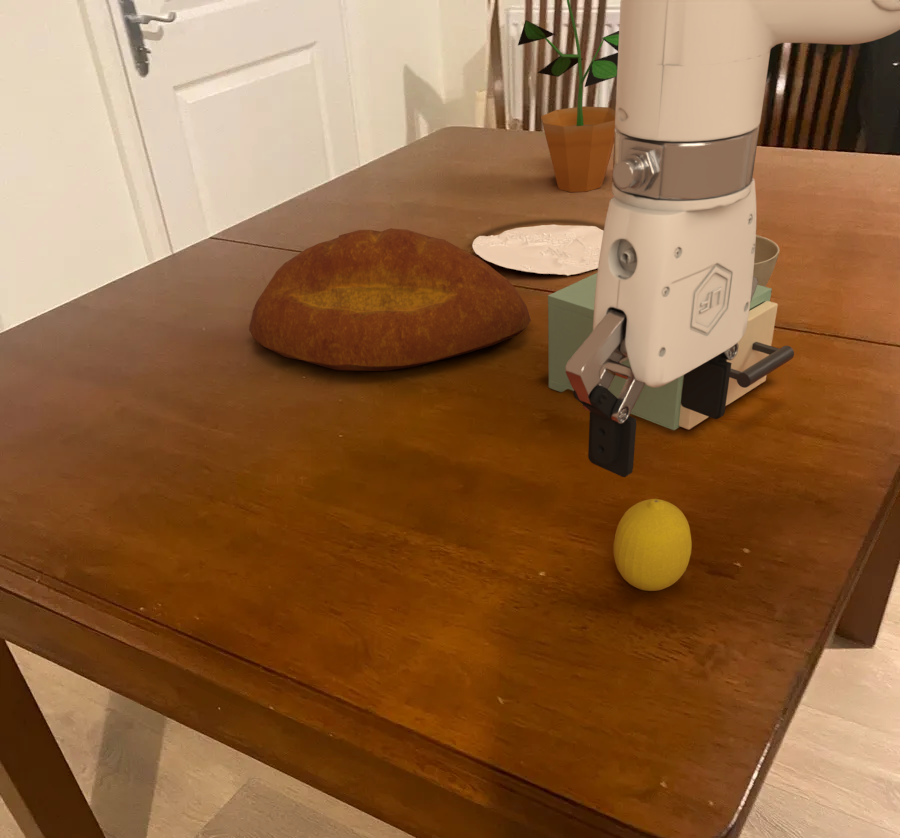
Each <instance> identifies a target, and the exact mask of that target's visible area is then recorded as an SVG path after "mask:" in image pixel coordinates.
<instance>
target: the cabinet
mask: <svg viewBox="0 0 900 838" xmlns="http://www.w3.org/2000/svg"><path fill="white" fill-rule="evenodd" d="M596 281H597V272H596V273H594V274H591V275H589V276H587V277H585V278H583V279H581V280H578V281H575V282H574V283H572V284H569V285H568V286H566V287H564V288H561V289H559V290H557V291H555V292H552V293H550V294H548V295H547V326H548V327H547V328H548V329H547V330H548V333H547V335H548V337H547V338H548V340H547V341H548V346H547V347H548V353H547V354H548V388H549V389H551V390H554V391H556V392H558V393H563V392H565V391H566V390H570V391H572V392H574V390H573V388H572V386H571V383H570V381H569V379H568V377H567V374H566V372H565V367H566V364H567V362H568V361H569V359H570V358H571V357H572V356H573V354H574V353H575V352H576V351H577V350H578V348H579V347H580V346H581V345H582V344H583V342H584V341H585V340H586V339H587V338H588V336H589V335H590V334H591V333H592V331H593V317H594V301H595V291H596ZM772 290H773V288H772V287H768V286H766V287H764V286H760V285H757V287H756V290H755V293H754V295H753V298H752V300H751V303H750V309H749V311H750V310H752V309H753V308H755V307H757V306H759V305H761V304H762V303H764V302H766V301H770V302H771V297H772V293H773V292H772ZM621 364H624V365H627V366H629V367H631V366H630V363H629V359H627V360H626V361H624V362H622V363H621ZM626 381H627V379H624V378H622V377H619V376H616V375H615V376H614V378H613V380H612V383H611V385H610V387H609V389H608V390H609V391H610V392H611V393H612V394H613V395H614V396H615V397H617V398H618V397H619V395H620V393H621V391H622V389H623V387H624V385H625V383H626ZM682 384H683V376H681V377H679V378H677V379H675V380H674V381H672V382H670V383H668V384H666V385H663V386H661V387H655V388H654V387H650V386H647V385H646V384H645V385H644V387H643V389H642V391H641V393H640V395H639V397H638V399H637V401H636V403H635V405H634V407H633V409H632V411H631V413H630V415H633V416H636V417H639V418H641V419H642V420H643V419H644V420H646V421H649V422H651V423H654V424H657V425H659V426H662V427H664V428H666V429H669V430H671V431H676V430H677V429H679V428H681V427H680V426H679V416H680V405H681V395H682Z"/></svg>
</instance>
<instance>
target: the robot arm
mask: <svg viewBox="0 0 900 838" xmlns="http://www.w3.org/2000/svg"><path fill="white" fill-rule="evenodd" d="M618 26H619V27H618V28H619V29H618V31H619V46H618V51H617V53H618V67H617V77H616V89H615V90H616V91H615V110H616V111H615V135H614V145H613V158H612V179H611V181H612V183H611V194H612V196H613V197H612V198H610V199H609V202H608V207H607V211H606V216H605V221H604V226H603V230H604V232H603V238H602V243H601V250H600V257H599V264H598V268H597V272H596V273H597V281H596V291H595V301H594V317H593V331H592V333H591V334H590V335H589V336H588V338H587V339H586V340H585V341H584V342H583V344H582V345H581V346H580V347H579V348H578V350H577V351H576V352H575V353H574V354H573V356H572V357H571V358H570V359H569V361H568V362H567V364H566V367H565V372H566V374H567V377H568V379H569V381H570V383H571V386H572V388H573V390H574V391H573V397H574V399H576V401H577V402H579V403H580V404H581V405H582V408H583V409H584V410H585V411H588V412H589V420H588V421H589V423H588V448H587V449H588V450H587V451H588V452H587V458H588V461H589V462H590V463H591V464H592V465H595V466H597V467H598V468H599V467H600V468H602V469H603V470H606V471H608V472H610V473H613V474H615V475H617V476H620V477H622V478H626V477H628V476H630V475H631V474H633V469H634V460H635V449H636V447H635V445H636V433H637V418H635V417H633V416H630V415H631V411H632V409H633V407H634V405H635V403H636V401H637V399H638V397H639V395H640V393H641V391H642V389H643V387H644V385H645V384H646V385H647V386H650V387H654V388H655V387H661V386H663V385H666V384H668V383H670V382H672V381H674V380H675V379H677V378H679V377H681V376H683V375H684V378H683V387H682V397H681V405H682V406H683V407H685V408H687V409H690V410H692V411H695V412H698V413H700V414H703V415H706V416H708V418H711V419H715V420H718V419H720V418H722V417H723V416H724V415H725V413H726V407H727V406H726V399H727V392H728V385H729V378H730V371H731V364H732V363H730V362H727V360H733V359H734V357H735V356H736V354H737V352H738V348H739V345H738V341H739V340H740V339H741V338H742V337H743V335H744V334H745V331H746V327H747V322H748V316H749V309H750V303H751V300H752V298H753V295H754V293H755V290H756V287H757V284H758V278H757V277H755V276H753V271H754V258H755V243H756V235H757V193H756V191H757V190H756V179H755V178H754V177H753V176H754V170H755V169H754V168H755V162H756V154H757V147H758V142H759V141H758V140H759V133H760V126H761V123H762V122H761V121H762V114H763V107H764V100H765V91H766V85H767V78H768V72H769V71H768V70H769V64H770V63H769V62H770V55H771V50H772V48H774V47H775V46H777V45H780V44H821V45H822V44H823V45H848V46H849V45H850V46H851V45H860V44H864V43H865V44H866V43H870V42H873V41H877V40H881V39H883V38H885V37H887V36H890V35H892V34H894V33H896V32H898V31H900V0H620V5H619V25H618ZM627 359H629V363H630V366H631V367H629V366H627V365H624V364H621V363H622V362H624V361H626V360H627ZM615 375H616V376H619V377H622V378H624V379H627V381H626V383H625V385H624V387H623V389H622V391H621V393H620V395H619V397H618V398H617V397H615V396H614V395H613V394H612V393H611V392H610V391H609V390H608V389H609V387H610V385H611V383H612V380H613V378H614V376H615Z"/></svg>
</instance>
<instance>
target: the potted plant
mask: <svg viewBox="0 0 900 838" xmlns="http://www.w3.org/2000/svg"><path fill="white" fill-rule="evenodd" d="M566 4H567V8H568V12H569V13H568V14H569V16H570V21H571V24H572V28H573V33H574V40H575V46H576V52H577V53H574V54H573V53H572V54H570V53H563V52H562V51H560V49H558V48H557V46H556V45H554V44H553V43H552V42H551V41H550V40H549V39H548V38H550V37H553V36H555V35H556V33H553V32H552V31H549V30H548V29H545V28H543V27H542V26H539V25H538V24H535V23H533V22H531V21H529V20H526V19H525V21H524V23H523V28H522V29H521V34H520V36H519V40H518V43H517V46H522V45H525V44H529V43H533V42H536V41H540V40H545V41H546V42H547V43H548V44H549V46H550V47H551V48H552V50H554V51H555V52H556V54H557V55H558V57H556V58H555V59H553V60H552V61H551V62H550V63H548V64H547V65H546V66H545V67H542V69H540V70H539V71H538V72H537V74H542V75H547V76H550V77H555V78H556V77H557V78H559V77H561V76H562V75H564V73H566V72H568V71H569V70H570V69H572V68H573V67H574V66H576V65H578V79H579V81H578V94H577V106H574V107H567V108H559V109H555V110H553V111H550V112H548V113H546V114H542V115H540V119H541V123H542V126H543V131H544V135H545V139H546V143H547V147H548V153H549V155H550V159H551V165H552V168H553V172H554V176H555V182H556V184H557V188H558V190H561V191H565V192H568V193H585V192H590V191H593V190H598V189H600V188H601V187H602V185H603V184H604V181H605V177H606V174H607V169H608V166H609V163H610V159H611V156H612V152H613V149H614V135H615V111H616V109H614V108H612V107H609V106H608V107H607V106H588V105H587V106H585V105H583V91H584V90H583V89H584V88H587V87H589V86H592V85H597V84H600V83H602V82H605V81H608V80H612V79H615V78H617V67H618V46H619V30H617V31H614V32H613V33H610V34H607V35H606V36H604V37H601V39H602V41H601V42H600V44H599V46H598V48H597V50H596V52H595V54H594V56H593V58H592V60H591V61H590V64H589V65H588V67H587V68H586V71H585V72H584V74H583V63H582V61H583V58H582V51H581V47H580V46H581V45H580V41H579V36H578V30H577V26H576V22H575V18H574V14H573V10H572V6H571V2H570V0H566ZM604 42H606V43H607V45H609V46H611V47H612V49H614V50H615V51H617V52H615V53H612V54H609V55H606V56H603V57H600V58H597V56H598V54H599V52H600V50H601V48H602V45H603V44H604ZM596 58H597V59H596ZM585 80H586V81H585ZM584 82H585V83H584ZM583 86H584V88H583Z"/></svg>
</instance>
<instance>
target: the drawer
mask: <svg viewBox="0 0 900 838" xmlns="http://www.w3.org/2000/svg"><path fill="white" fill-rule="evenodd" d="M778 307H779V303H777V302H774V301H771V300H770V301H766V302H764V303H762V304H761V305H759V306H757V307H755V308H753V309H752V310H750V311H749V316H748V322H747V327H746V331H745V334H744V335H743V337H742V338H741V339H740V340H739V341H738V345H739V348H738V352H737V354H736V356H735V357H734V359H733V360H727V362H730V363H732V364H731V371H730V378H729V385H728V392H727V399H726V406H725V407H727V406H728V405H730V404H731V403H734V401H736V400H738V399H739V398H741V397H743V396H745V394H747V393H749V392H750V391H752V390H753V389H755V388H757V387H758V386H760V385H761V384H763V383H764V382H766V381H767V376H768V375H769V374H771V373H772V372H774V371H776V370H777V369H778V368H780V367H781V366H783V365H785V364H786V363H788V362H789V361H791V360H792V359H793V358H794V356H795V351H794V348H793V347H791V346H790V345H783V346H781V347H780V348H778V347H775V346H772V344H773V338H774V332H775V325H776V318H777V313H778ZM683 378H684V375H683ZM682 387H683V384H682ZM681 397H682V395H681ZM707 419H709V417H708V416H706V415H703V414H700V413H698V412H695V411H692V410H690V409H687V408H685V407H683V406H682V405H680V416H679V426H680V427H679V428H683V429H685V430H689V431H690V430H691V429H693V428H694V427H696V426H697V425H699V424H700V423H702V422H703V421H705V420H707Z"/></svg>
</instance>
